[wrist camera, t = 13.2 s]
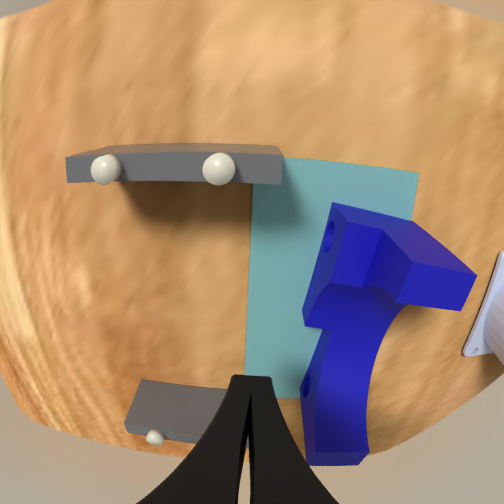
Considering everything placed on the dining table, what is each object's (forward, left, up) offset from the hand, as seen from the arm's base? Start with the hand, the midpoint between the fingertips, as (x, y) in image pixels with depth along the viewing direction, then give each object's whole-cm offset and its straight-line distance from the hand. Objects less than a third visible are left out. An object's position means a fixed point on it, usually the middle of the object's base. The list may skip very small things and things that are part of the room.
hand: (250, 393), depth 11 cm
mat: (-4, 0, -7) cm, 7 cm away
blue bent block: (-5, +1, -7) cm, 8 cm away
